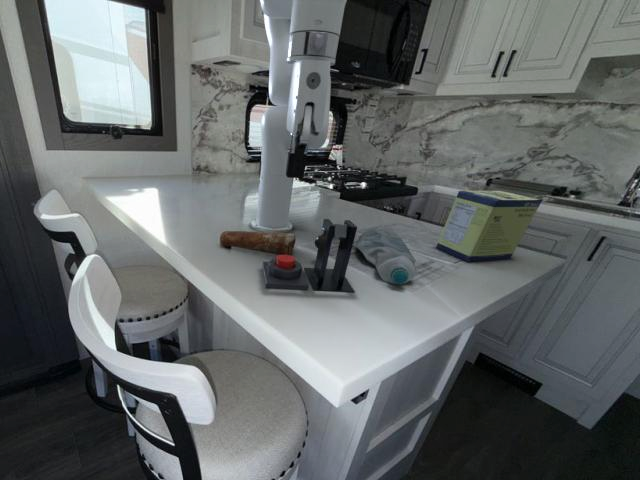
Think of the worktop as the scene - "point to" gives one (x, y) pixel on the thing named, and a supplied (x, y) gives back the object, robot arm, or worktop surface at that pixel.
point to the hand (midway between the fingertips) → (294, 176)
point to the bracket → (335, 277)
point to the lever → (335, 233)
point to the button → (285, 261)
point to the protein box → (487, 224)
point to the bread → (260, 241)
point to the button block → (284, 276)
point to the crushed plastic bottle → (387, 255)
